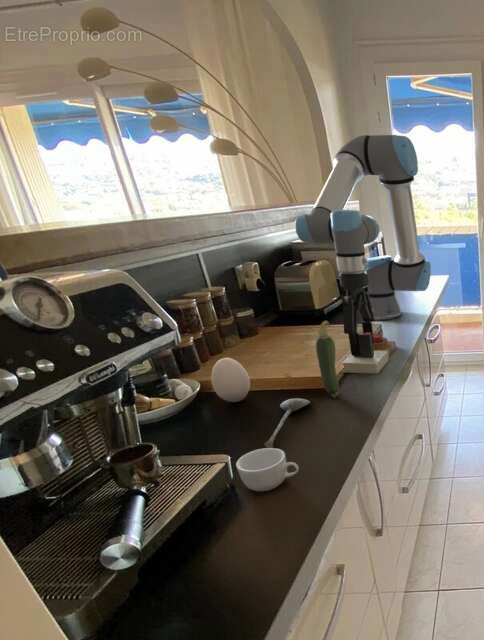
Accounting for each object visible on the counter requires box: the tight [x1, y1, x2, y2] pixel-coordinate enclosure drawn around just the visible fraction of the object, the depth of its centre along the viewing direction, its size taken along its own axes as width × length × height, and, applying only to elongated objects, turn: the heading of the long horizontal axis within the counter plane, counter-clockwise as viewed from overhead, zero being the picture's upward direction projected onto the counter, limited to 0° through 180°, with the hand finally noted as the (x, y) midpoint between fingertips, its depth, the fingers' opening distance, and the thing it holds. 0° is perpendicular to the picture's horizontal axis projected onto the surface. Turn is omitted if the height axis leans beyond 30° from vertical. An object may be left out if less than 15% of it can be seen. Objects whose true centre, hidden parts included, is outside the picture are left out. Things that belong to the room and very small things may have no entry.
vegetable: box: [315, 320, 340, 399], centre depth 111 cm, size 4×4×20 cm
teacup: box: [235, 447, 300, 492], centre depth 80 cm, size 10×8×5 cm
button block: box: [373, 336, 397, 357], centre depth 144 cm, size 10×9×4 cm
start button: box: [373, 333, 384, 343], centre depth 142 cm, size 4×4×2 cm
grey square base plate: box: [339, 351, 390, 374], centre depth 133 cm, size 11×11×3 cm
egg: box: [210, 357, 251, 403], centre depth 109 cm, size 8×8×11 cm
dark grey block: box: [354, 332, 374, 358], centre depth 131 cm, size 6×2×7 cm, turn 85°
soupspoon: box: [263, 397, 311, 448], centre depth 101 cm, size 22×3×7 cm
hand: (363, 349), depth 131 cm, fingers open, 10 cm apart
